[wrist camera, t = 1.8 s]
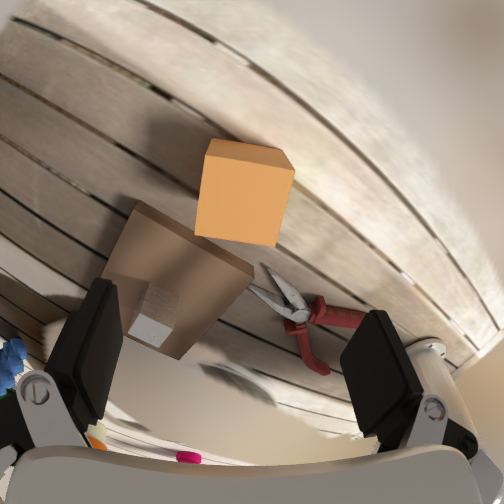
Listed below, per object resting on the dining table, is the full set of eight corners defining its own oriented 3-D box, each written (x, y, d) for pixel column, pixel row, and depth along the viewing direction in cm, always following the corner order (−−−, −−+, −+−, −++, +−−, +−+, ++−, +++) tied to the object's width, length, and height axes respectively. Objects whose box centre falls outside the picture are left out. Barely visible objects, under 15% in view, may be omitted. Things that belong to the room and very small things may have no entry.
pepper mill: (208, 458, 63) (207, 526, 46) (183, 459, 64) (180, 525, 47) (195, 450, 59) (192, 524, 42) (169, 451, 60) (164, 521, 43)
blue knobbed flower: (17, 313, 34) (-17, 373, 24) (45, 343, 37) (18, 404, 27) (-9, 328, 36) (-37, 378, 26) (16, 353, 39) (-8, 405, 29)
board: (253, 266, 31) (257, 310, 25) (180, 348, 37) (174, 389, 32) (139, 200, 26) (116, 234, 21) (90, 303, 33) (72, 342, 27)
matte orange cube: (282, 150, 25) (295, 170, 19) (267, 212, 28) (274, 246, 23) (212, 137, 24) (205, 155, 19) (202, 202, 27) (194, 235, 22)
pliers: (298, 235, 30) (303, 250, 27) (385, 326, 38) (391, 340, 36) (219, 299, 34) (218, 315, 31) (320, 366, 42) (323, 380, 40)
